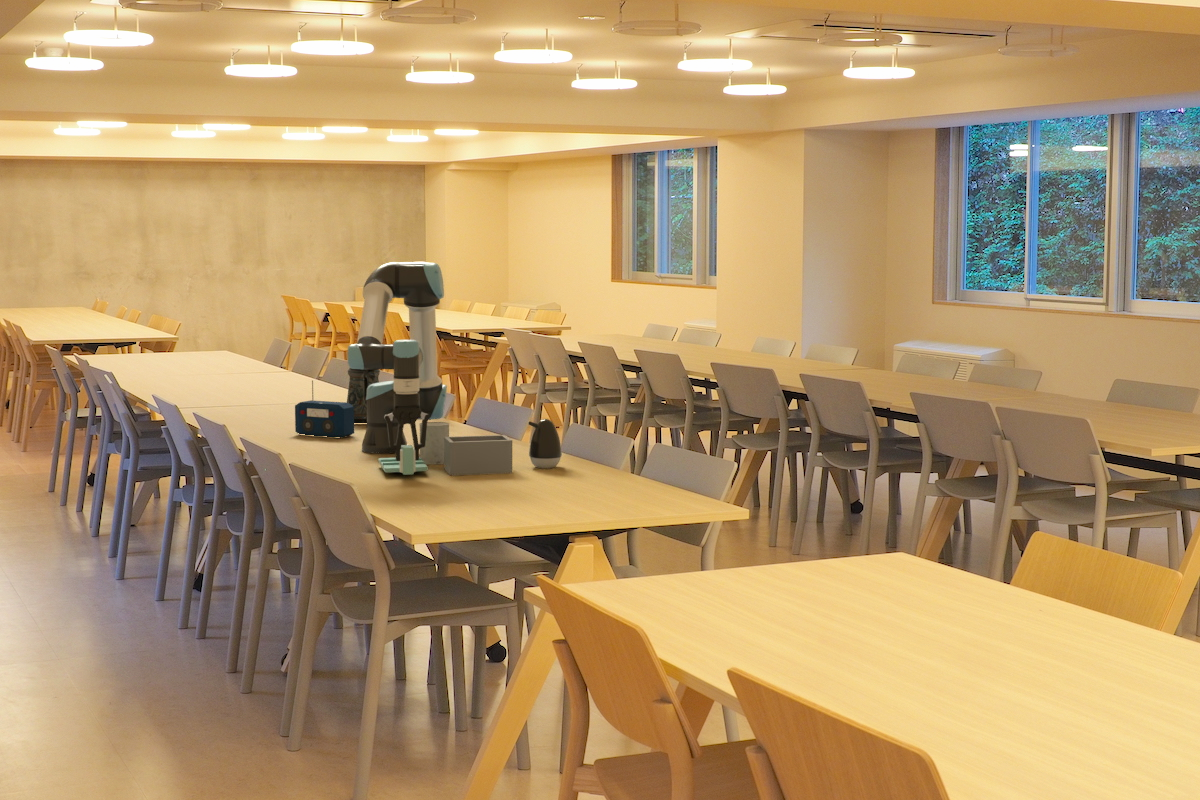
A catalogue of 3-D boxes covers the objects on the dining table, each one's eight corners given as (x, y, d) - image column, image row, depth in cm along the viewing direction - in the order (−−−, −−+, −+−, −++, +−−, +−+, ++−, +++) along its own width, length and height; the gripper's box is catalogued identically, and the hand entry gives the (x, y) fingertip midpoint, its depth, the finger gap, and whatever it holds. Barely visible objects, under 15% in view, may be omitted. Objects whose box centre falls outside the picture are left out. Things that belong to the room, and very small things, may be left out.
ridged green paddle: (386, 475, 376) (386, 448, 375) (378, 462, 399) (378, 436, 399) (429, 473, 379) (429, 446, 378) (419, 460, 403) (418, 435, 402)
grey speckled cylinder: (444, 464, 404) (443, 426, 403) (415, 463, 406) (414, 425, 405) (453, 460, 414) (453, 422, 412) (425, 459, 416) (425, 421, 414)
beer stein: (365, 418, 515) (364, 356, 512) (400, 422, 504) (399, 358, 501) (334, 422, 502) (333, 358, 499) (369, 426, 490) (368, 361, 488)
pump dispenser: (529, 464, 406) (529, 416, 404) (562, 464, 406) (562, 416, 405) (527, 469, 396) (527, 421, 394) (561, 470, 396) (561, 421, 394)
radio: (293, 435, 466) (292, 381, 463) (307, 432, 474) (306, 378, 471) (342, 439, 458) (341, 383, 455) (355, 436, 466) (354, 381, 463)
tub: (444, 468, 397) (444, 436, 396) (504, 466, 402) (504, 434, 401) (450, 475, 385) (450, 442, 384) (512, 472, 390) (512, 440, 389)
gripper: (380, 394, 371) (381, 474, 374) (435, 393, 376) (436, 472, 378) (377, 391, 379) (378, 470, 381) (432, 390, 383) (432, 468, 385)
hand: (407, 471), depth 380 cm, fingers closed on ridged green paddle, 3 cm apart
